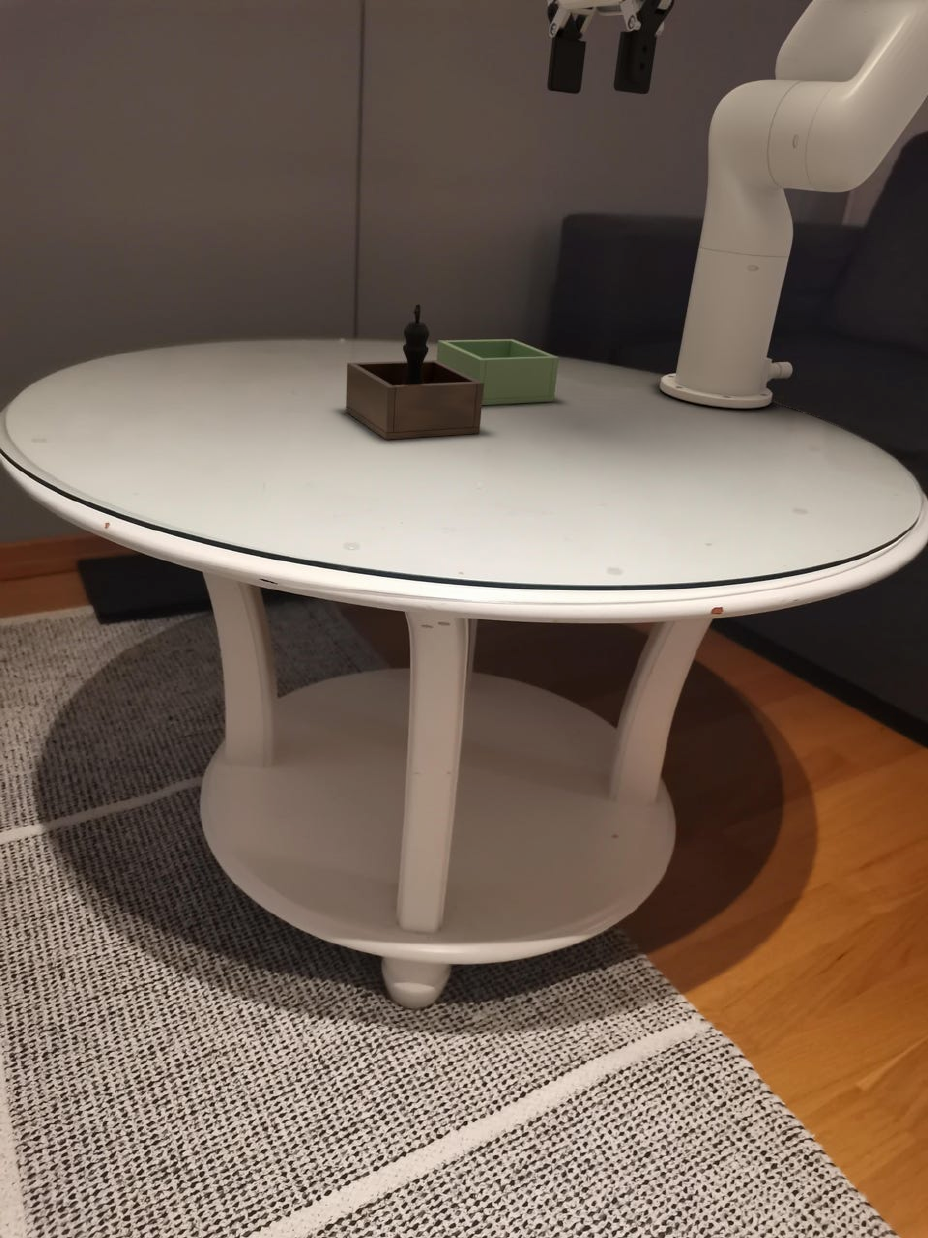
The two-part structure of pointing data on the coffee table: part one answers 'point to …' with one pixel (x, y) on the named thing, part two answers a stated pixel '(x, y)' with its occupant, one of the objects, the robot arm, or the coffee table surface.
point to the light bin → (503, 369)
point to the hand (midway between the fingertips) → (595, 91)
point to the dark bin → (413, 400)
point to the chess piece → (415, 349)
